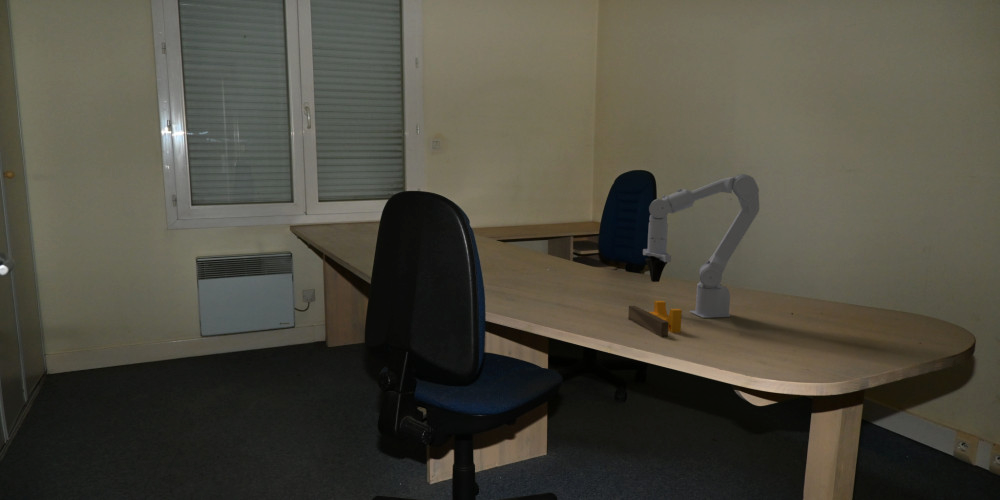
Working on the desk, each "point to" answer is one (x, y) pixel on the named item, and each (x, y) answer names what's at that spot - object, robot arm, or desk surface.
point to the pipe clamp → (673, 317)
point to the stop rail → (648, 321)
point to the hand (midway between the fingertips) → (655, 281)
